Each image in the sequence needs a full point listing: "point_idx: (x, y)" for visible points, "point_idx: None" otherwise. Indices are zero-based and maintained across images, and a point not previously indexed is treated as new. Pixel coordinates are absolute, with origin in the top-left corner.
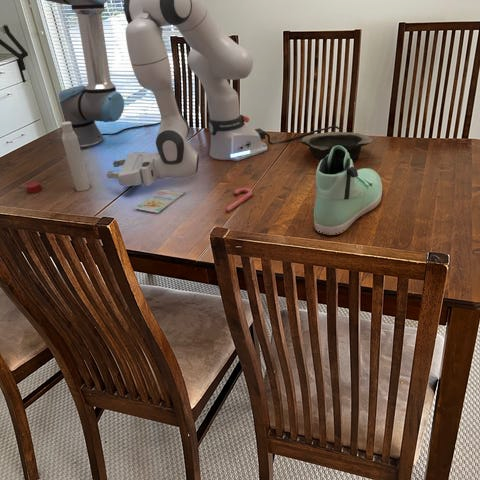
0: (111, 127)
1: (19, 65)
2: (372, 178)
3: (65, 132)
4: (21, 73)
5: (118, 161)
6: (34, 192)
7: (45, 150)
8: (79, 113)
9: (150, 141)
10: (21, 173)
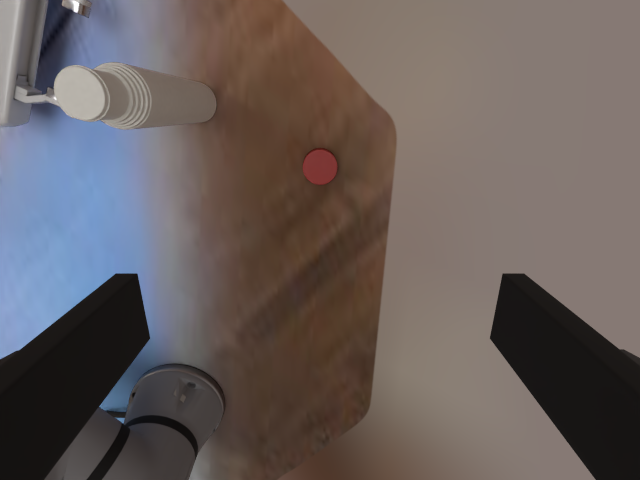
0: None
1: (5, 372)
2: None
3: (112, 75)
4: (80, 314)
5: (47, 94)
6: (321, 148)
7: (276, 406)
8: (127, 441)
9: (10, 325)
10: (341, 296)
